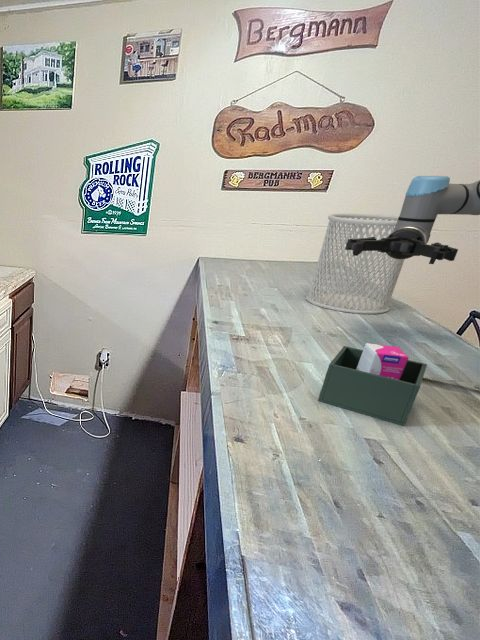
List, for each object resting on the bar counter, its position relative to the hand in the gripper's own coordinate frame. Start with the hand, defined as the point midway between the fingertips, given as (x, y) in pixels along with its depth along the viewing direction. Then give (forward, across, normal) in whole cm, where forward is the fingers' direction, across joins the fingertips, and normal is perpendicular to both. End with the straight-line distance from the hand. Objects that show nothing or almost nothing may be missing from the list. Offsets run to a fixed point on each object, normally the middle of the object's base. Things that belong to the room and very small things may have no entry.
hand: (393, 253), depth 102 cm
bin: (+20, -5, -28) cm, 35 cm away
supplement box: (+20, -5, -28) cm, 34 cm away
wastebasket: (-64, +13, -28) cm, 71 cm away
